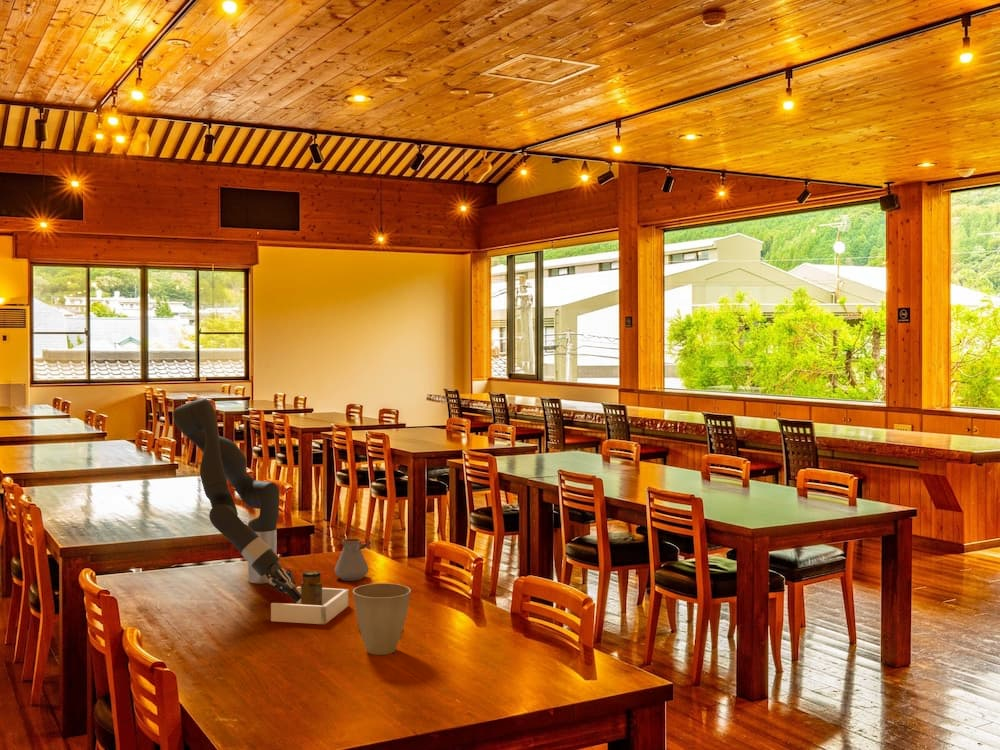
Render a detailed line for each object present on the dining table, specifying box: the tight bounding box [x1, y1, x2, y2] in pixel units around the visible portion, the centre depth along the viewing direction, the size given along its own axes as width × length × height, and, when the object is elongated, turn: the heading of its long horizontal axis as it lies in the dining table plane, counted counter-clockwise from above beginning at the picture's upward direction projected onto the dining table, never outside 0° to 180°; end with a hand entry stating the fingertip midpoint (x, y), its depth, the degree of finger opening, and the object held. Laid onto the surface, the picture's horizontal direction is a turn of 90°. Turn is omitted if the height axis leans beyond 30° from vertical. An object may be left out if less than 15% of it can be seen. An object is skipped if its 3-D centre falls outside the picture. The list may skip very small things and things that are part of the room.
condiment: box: [300, 570, 323, 606], centre depth 294 cm, size 7×8×12 cm
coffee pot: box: [334, 538, 374, 582], centre depth 334 cm, size 21×12×15 cm, turn 31°
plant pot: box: [352, 582, 411, 656], centre depth 260 cm, size 15×15×16 cm
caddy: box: [270, 586, 350, 625], centre depth 295 cm, size 20×16×5 cm
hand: (299, 599), depth 295 cm, fingers closed
